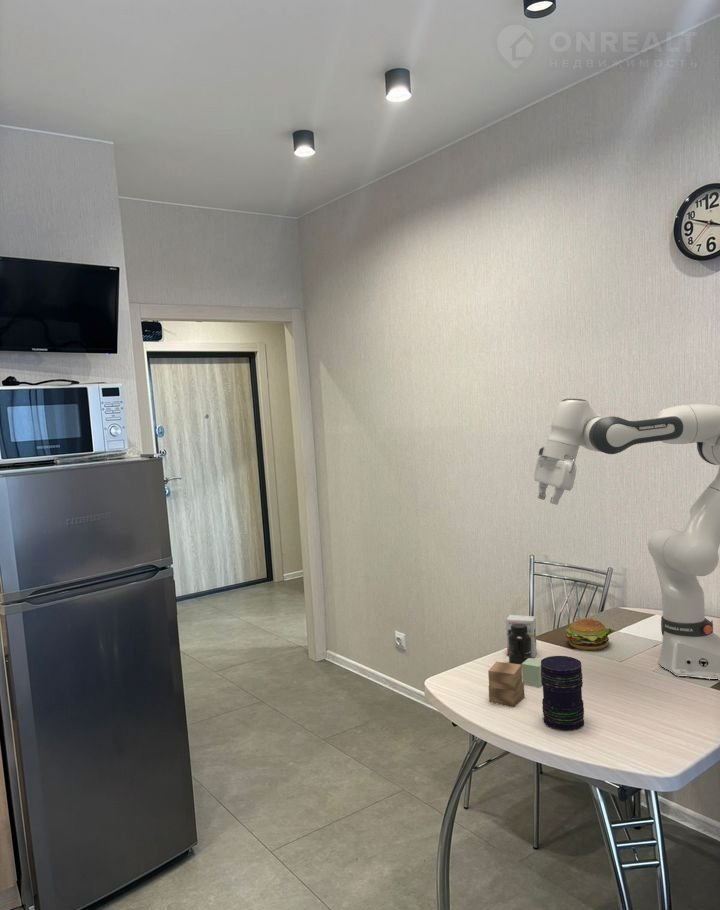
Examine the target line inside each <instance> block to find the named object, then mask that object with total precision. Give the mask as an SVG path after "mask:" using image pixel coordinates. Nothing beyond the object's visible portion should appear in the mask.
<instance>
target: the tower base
mask: <svg viewBox="0 0 720 910" xmlns="http://www.w3.org/2000/svg"><path fill="white" fill-rule="evenodd" d="M488 699H489V703H491V702H493V703H492V704H496V703H498V704H497V705H500V704H502V705H501V706H505V705H506V707H511V708H515V707H516V706H517V705H518V704H520V702H521V701H523V700H524V699H525V685H524V682H523V681H522V682H521V683H520V685H519V686H518V688H517V689H516V690H515V691H512V690H505V689H498V688H491V687H489V686H488Z"/></svg>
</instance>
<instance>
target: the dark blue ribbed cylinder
mask: <svg viewBox="0 0 720 910" xmlns="http://www.w3.org/2000/svg"><path fill="white" fill-rule="evenodd" d="M540 660H541V683H542V686H541V687H542V695H543V697H542V699H541V701H542V703H541V704H542V707H541V708H542V714H543V724H544V725H545V726H546V727H548V728H550V729H552V730H556V731H560V732H561V731H562V732H572V731H577V730H580V729H581V728H583V727H584V726H585V720H584V717H585V708H584V705H585V704H584V699H583V695H582V694H583V693H582V692H583V691H582V688H583V683H584V681H583V669H582V661H581V660H579V659H577V658H575V657H572V656H566V655H551V656H548V657H544V658H542V659H540Z"/></svg>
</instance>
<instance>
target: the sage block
mask: <svg viewBox="0 0 720 910" xmlns="http://www.w3.org/2000/svg"><path fill="white" fill-rule="evenodd" d="M541 660H542V659H539V658H538V659H537V658H533V657H532V658H528V659H527V660H526V661H524V662H523V663H522V682H524V686H525V685H526V686H530V687H536V688H539V687H540V688H541V687H543V686H542V683H541Z"/></svg>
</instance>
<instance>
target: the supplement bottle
mask: <svg viewBox="0 0 720 910" xmlns="http://www.w3.org/2000/svg"><path fill="white" fill-rule="evenodd" d="M511 632H512V633H511V634H510V635H509V636H508V648H509V656H508V663H513V664H521V665H522V663H523V662H524V661H526V660H527V659H528V658H532V659H533V657H532V649H531V637H530V635H529V634H528V633H527V632H528V630H527V625H525V624H519V623H518V624H512V625H511Z"/></svg>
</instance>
